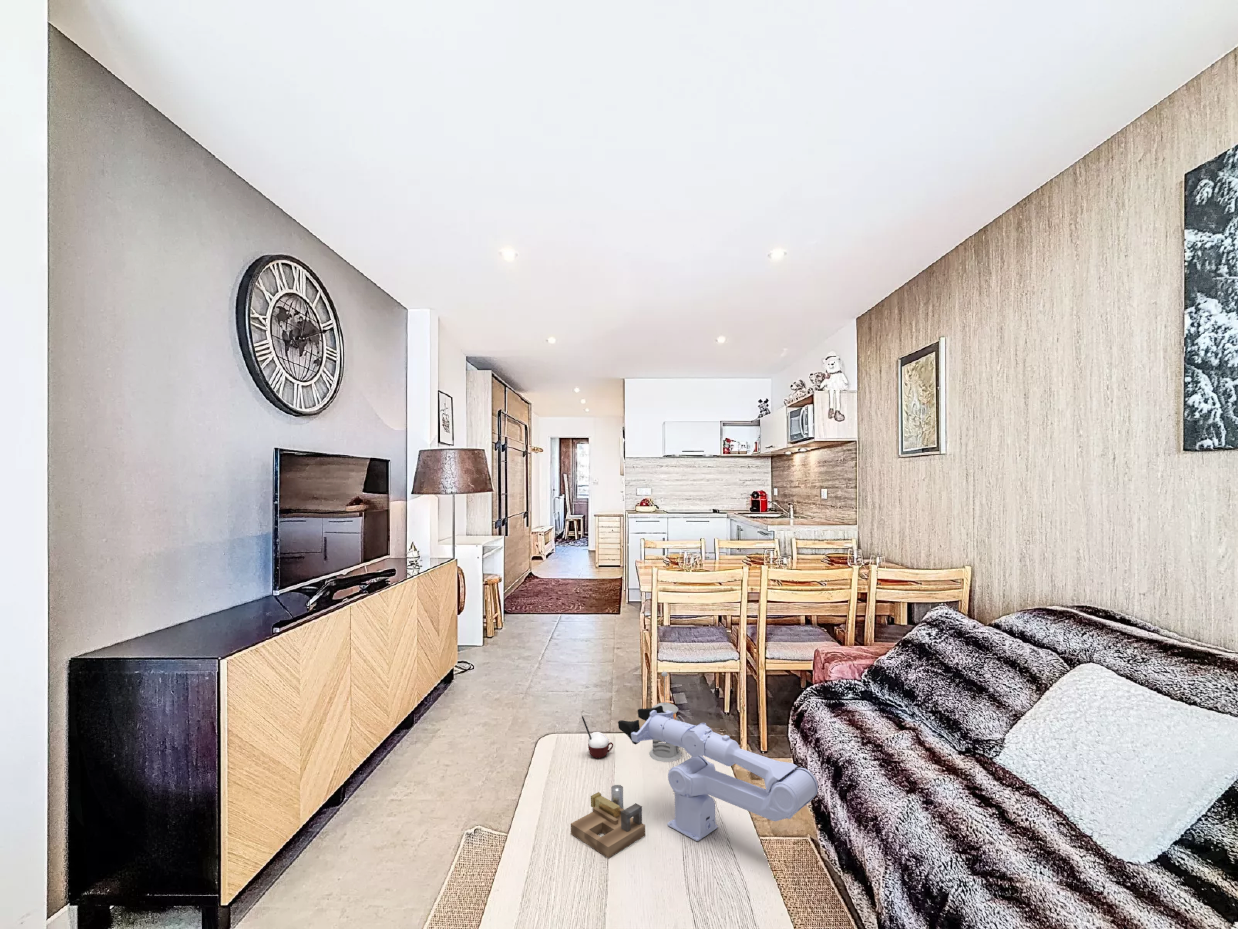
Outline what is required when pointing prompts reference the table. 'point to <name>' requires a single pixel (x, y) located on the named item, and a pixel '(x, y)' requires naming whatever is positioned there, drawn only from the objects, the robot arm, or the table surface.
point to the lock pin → (605, 805)
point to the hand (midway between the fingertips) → (629, 718)
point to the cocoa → (597, 743)
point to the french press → (661, 750)
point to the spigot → (617, 795)
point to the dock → (610, 829)
